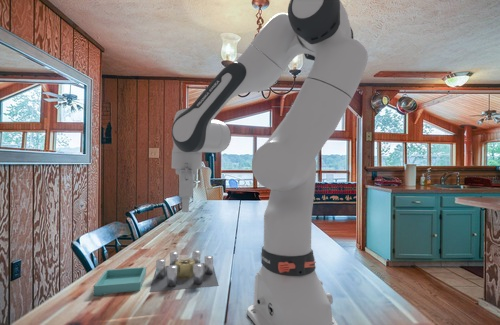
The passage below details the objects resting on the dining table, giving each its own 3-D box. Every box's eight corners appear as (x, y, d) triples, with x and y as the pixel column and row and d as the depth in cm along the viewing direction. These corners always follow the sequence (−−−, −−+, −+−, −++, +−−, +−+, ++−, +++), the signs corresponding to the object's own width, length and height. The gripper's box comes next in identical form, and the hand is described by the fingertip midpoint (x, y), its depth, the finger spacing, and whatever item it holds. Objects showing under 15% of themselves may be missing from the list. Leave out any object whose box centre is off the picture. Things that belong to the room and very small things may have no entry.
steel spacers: (215, 283, 75) (215, 265, 75) (153, 288, 71) (153, 270, 71) (210, 264, 90) (210, 249, 90) (158, 268, 86) (158, 252, 86)
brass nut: (194, 271, 84) (194, 258, 84) (195, 277, 79) (195, 263, 79) (175, 272, 82) (175, 259, 82) (174, 279, 77) (175, 265, 77)
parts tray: (140, 291, 70) (140, 282, 70) (93, 296, 68) (93, 286, 68) (146, 275, 81) (146, 266, 81) (106, 278, 79) (106, 269, 79)
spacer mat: (218, 287, 74) (218, 285, 74) (149, 293, 70) (149, 292, 70) (212, 263, 91) (212, 262, 91) (156, 267, 87) (156, 266, 87)
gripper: (199, 163, 72) (197, 215, 71) (196, 163, 91) (194, 203, 91) (174, 162, 70) (172, 215, 70) (177, 162, 90) (175, 204, 90)
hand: (185, 209), depth 81 cm, fingers open, 8 cm apart
